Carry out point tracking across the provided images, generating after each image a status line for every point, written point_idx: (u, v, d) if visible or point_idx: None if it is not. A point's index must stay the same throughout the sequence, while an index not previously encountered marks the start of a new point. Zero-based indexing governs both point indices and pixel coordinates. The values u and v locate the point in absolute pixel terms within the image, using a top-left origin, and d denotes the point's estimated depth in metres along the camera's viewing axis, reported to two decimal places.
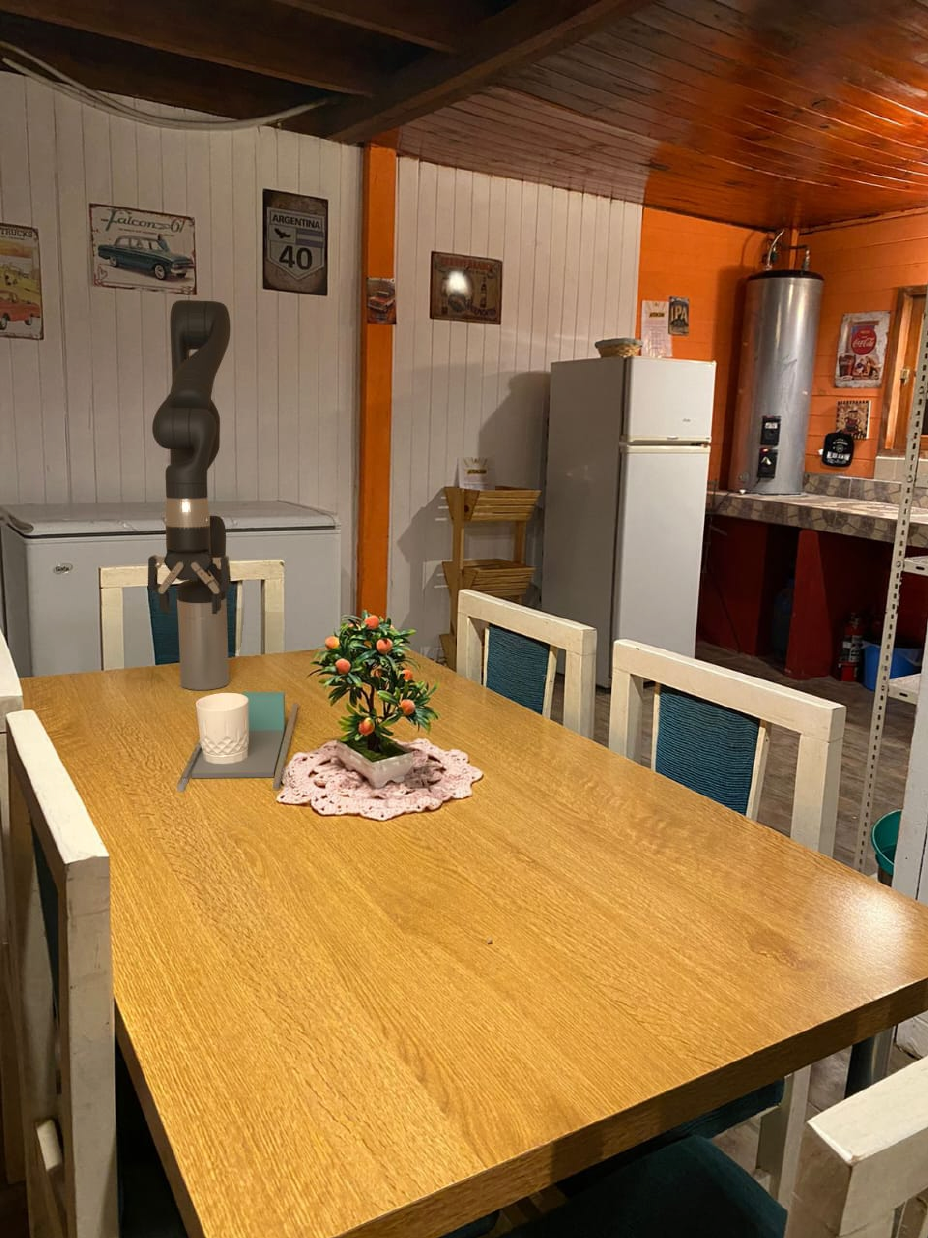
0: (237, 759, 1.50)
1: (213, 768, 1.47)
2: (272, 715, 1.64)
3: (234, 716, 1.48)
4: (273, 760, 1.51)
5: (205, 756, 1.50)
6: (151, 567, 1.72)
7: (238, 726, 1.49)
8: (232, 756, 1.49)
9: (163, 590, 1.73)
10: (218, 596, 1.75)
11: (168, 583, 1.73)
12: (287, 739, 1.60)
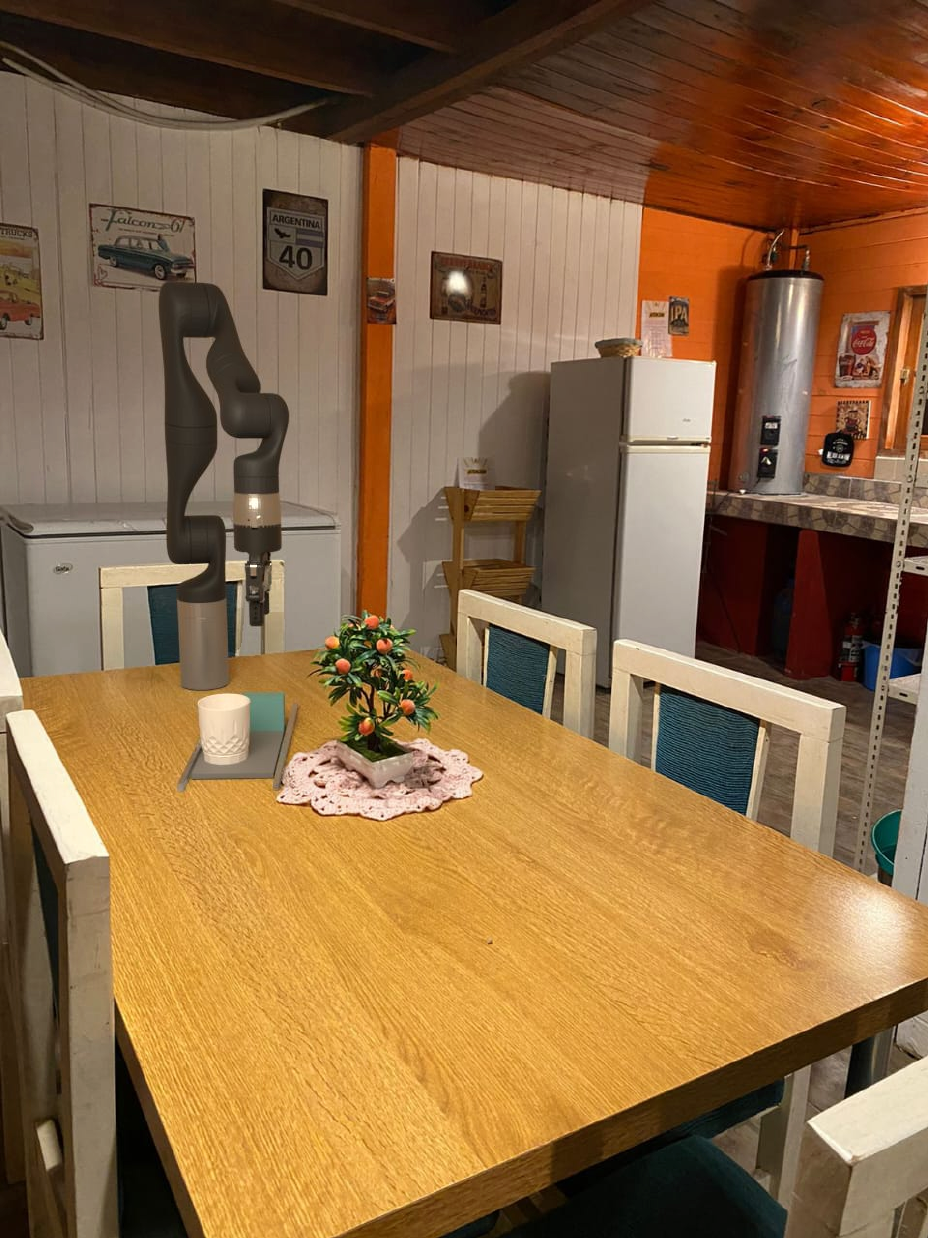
0: (223, 762, 1.49)
1: (213, 769, 1.47)
2: (272, 716, 1.64)
3: (220, 718, 1.47)
4: (273, 761, 1.51)
5: None
6: (261, 575, 1.52)
7: (224, 728, 1.47)
8: (218, 758, 1.49)
9: None
10: None
11: (265, 589, 1.55)
12: (287, 739, 1.60)
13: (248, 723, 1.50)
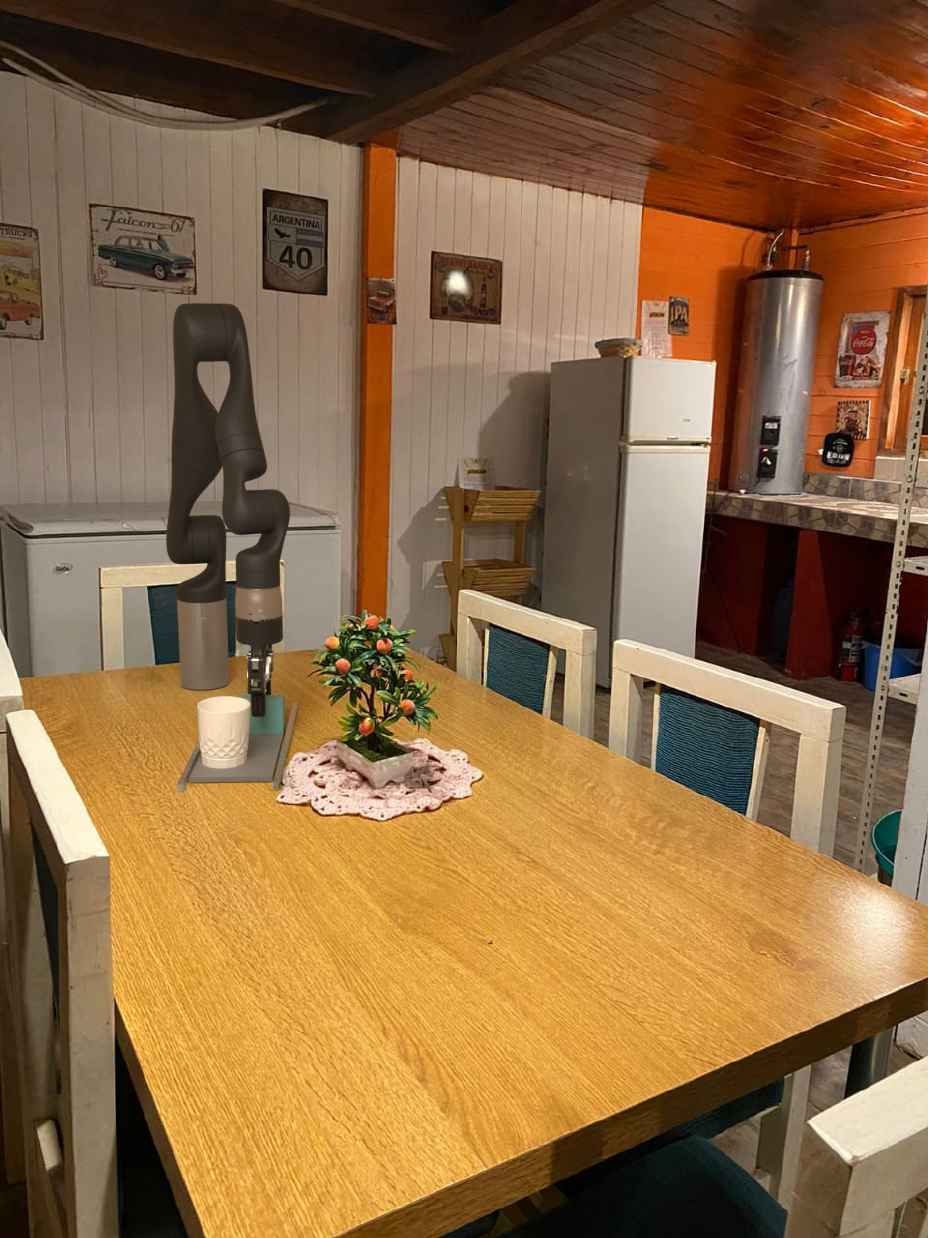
0: (220, 765, 1.47)
1: (211, 772, 1.46)
2: (271, 718, 1.62)
3: (218, 721, 1.45)
4: (272, 764, 1.50)
5: None
6: (263, 668, 1.55)
7: (222, 732, 1.46)
8: (215, 761, 1.47)
9: (265, 690, 1.57)
10: None
11: (267, 681, 1.58)
12: (287, 739, 1.60)
13: (247, 727, 1.49)
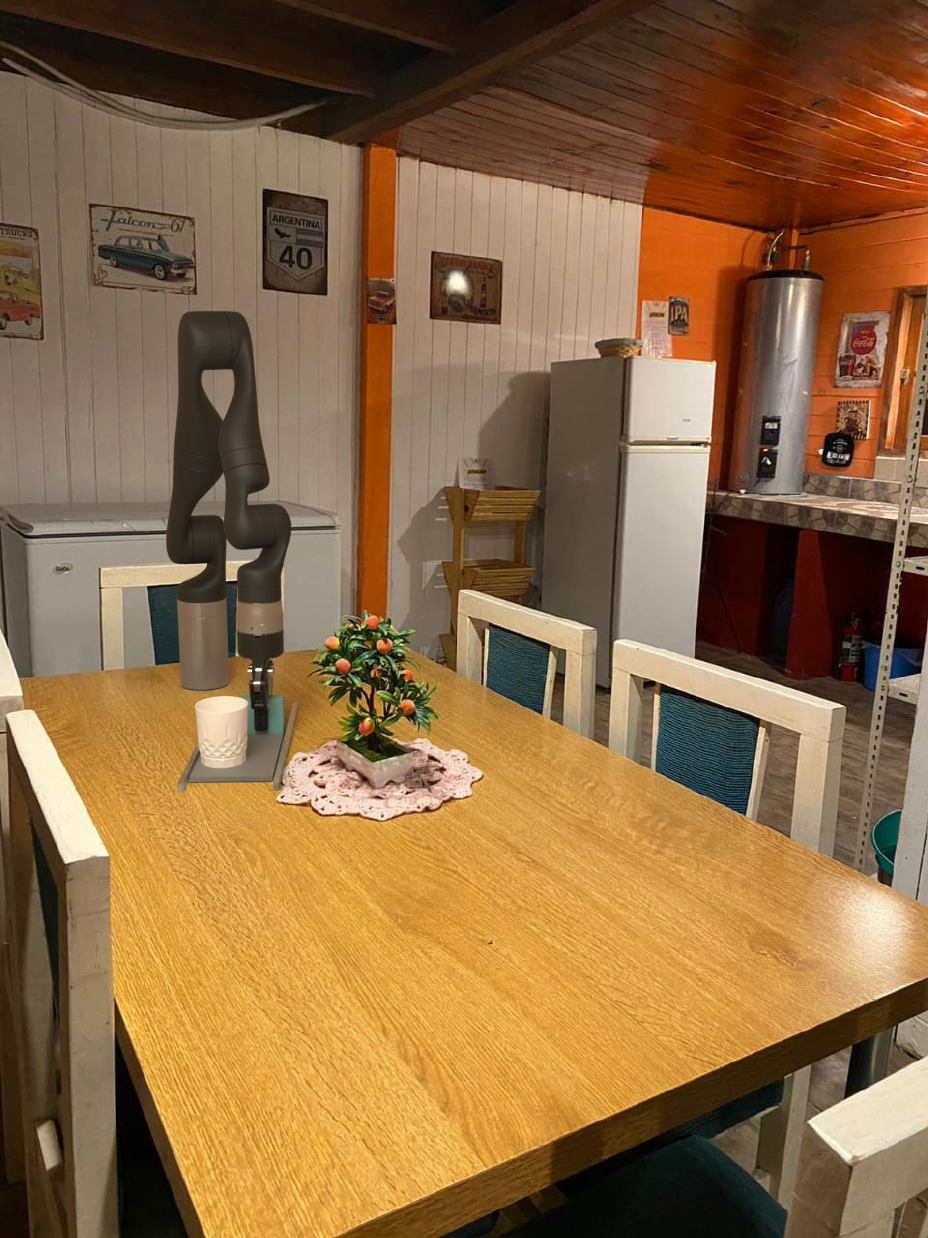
0: (217, 765, 1.48)
1: (211, 772, 1.46)
2: (271, 718, 1.63)
3: (213, 721, 1.45)
4: (272, 764, 1.50)
5: None
6: (265, 689, 1.57)
7: (217, 732, 1.46)
8: (212, 761, 1.47)
9: (268, 705, 1.61)
10: None
11: None
12: (287, 739, 1.60)
13: (244, 727, 1.48)
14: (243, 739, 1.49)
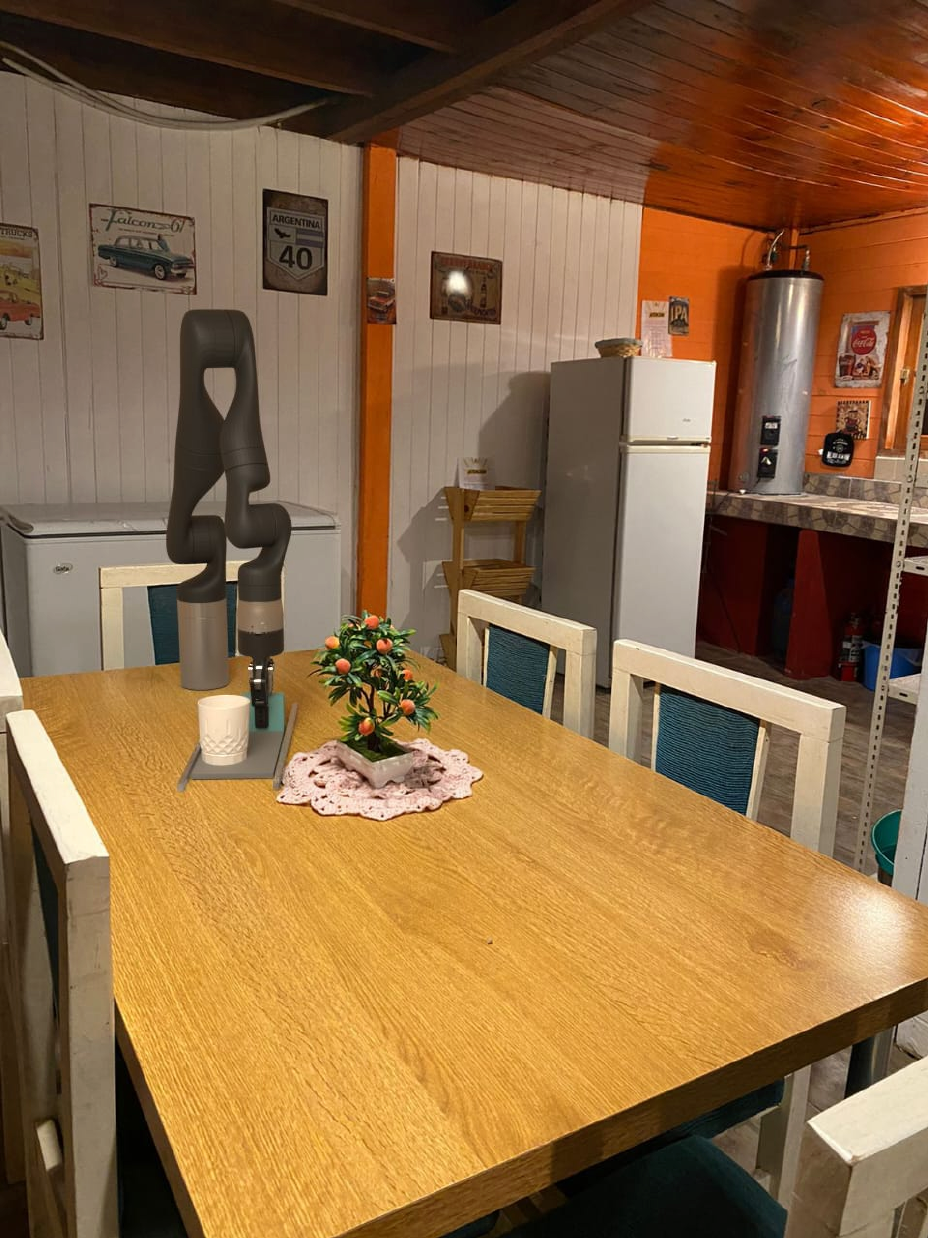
0: (217, 761, 1.49)
1: (213, 769, 1.47)
2: (272, 716, 1.64)
3: (214, 716, 1.47)
4: (273, 761, 1.51)
5: None
6: (265, 687, 1.58)
7: (218, 727, 1.47)
8: (212, 757, 1.49)
9: None
10: None
11: None
12: (287, 739, 1.60)
13: (245, 725, 1.50)
14: (244, 736, 1.50)
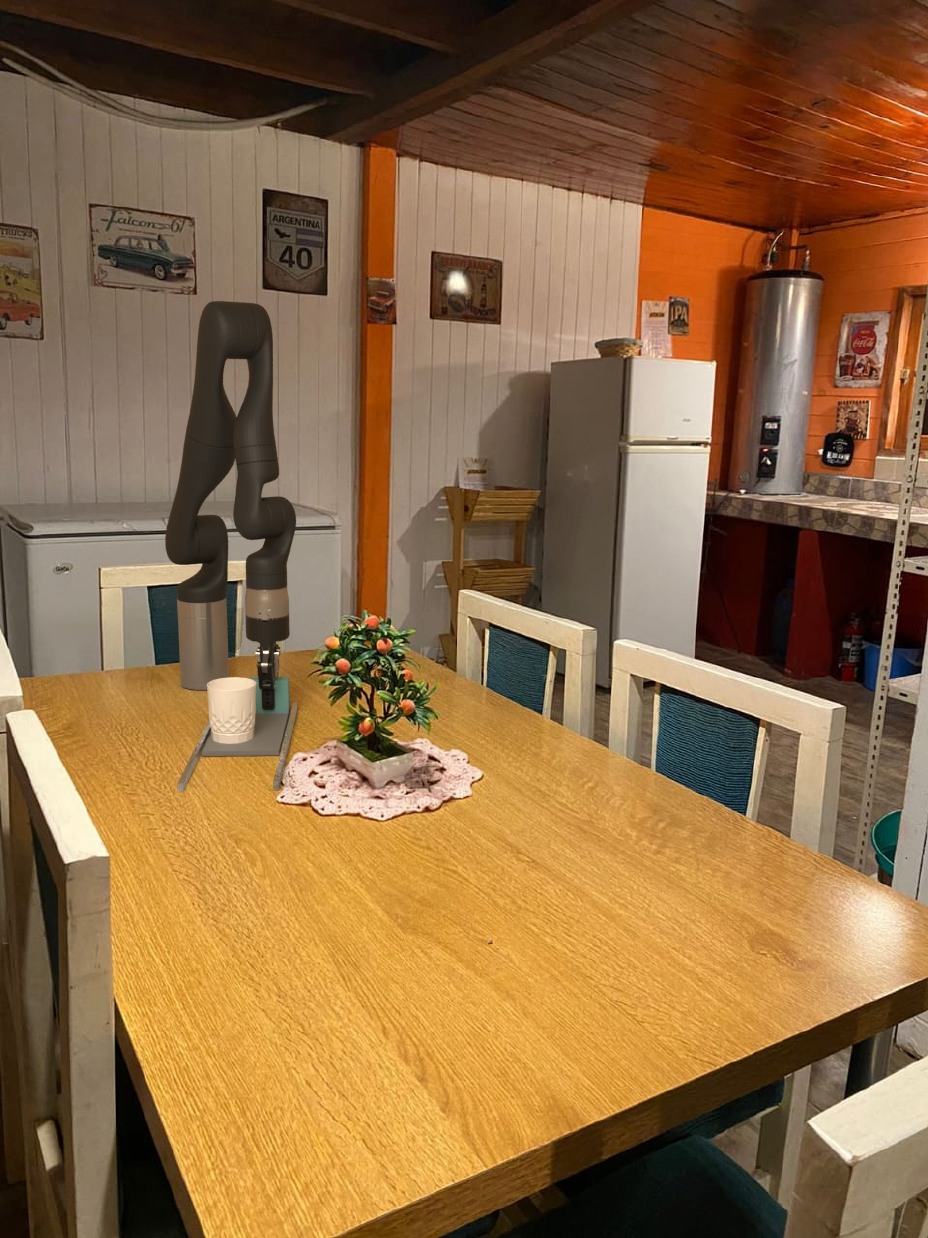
0: (223, 740, 1.58)
1: (222, 747, 1.56)
2: (277, 698, 1.73)
3: (219, 697, 1.56)
4: (278, 740, 1.60)
5: None
6: (272, 671, 1.67)
7: (223, 708, 1.56)
8: (218, 735, 1.58)
9: (274, 685, 1.72)
10: None
11: None
12: (287, 739, 1.60)
13: (250, 706, 1.58)
14: (249, 717, 1.59)
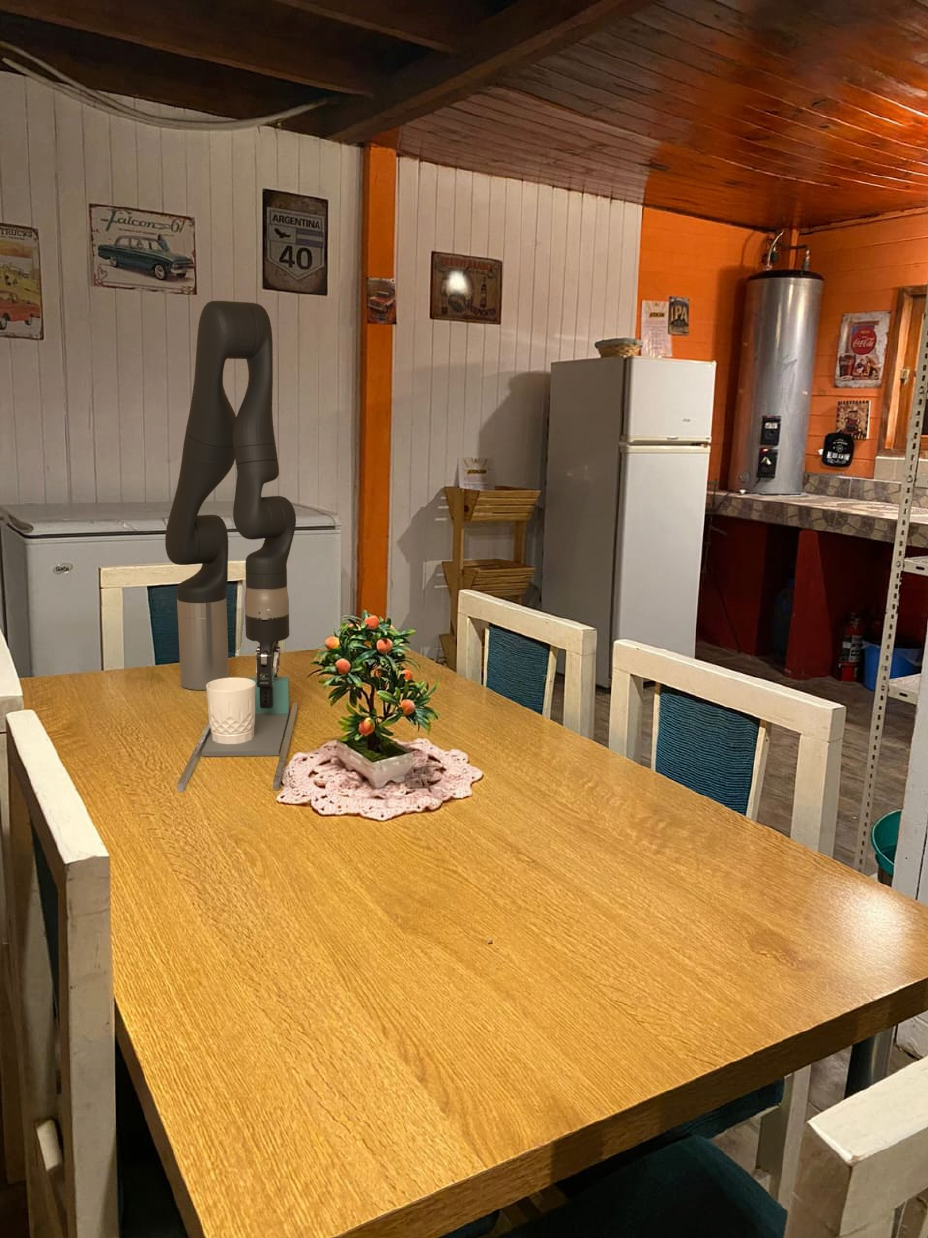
0: (221, 740, 1.58)
1: (222, 747, 1.56)
2: (277, 699, 1.73)
3: (217, 698, 1.56)
4: (278, 740, 1.60)
5: None
6: (271, 663, 1.66)
7: (220, 709, 1.56)
8: (217, 736, 1.58)
9: (273, 683, 1.69)
10: None
11: (274, 675, 1.70)
12: (287, 739, 1.60)
13: (248, 707, 1.58)
14: (247, 718, 1.58)
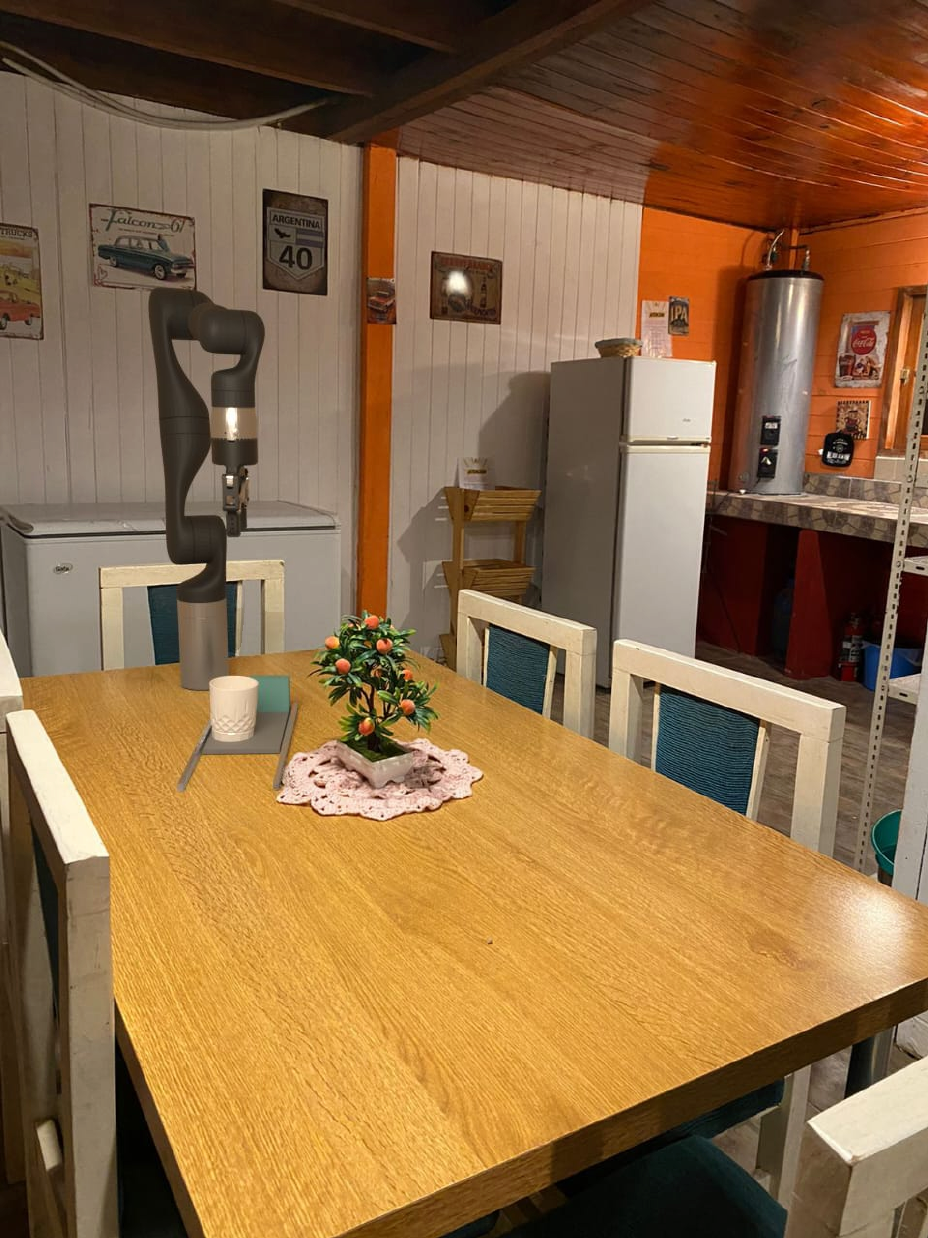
0: (217, 737, 1.59)
1: (223, 745, 1.57)
2: (278, 697, 1.74)
3: (214, 695, 1.57)
4: (279, 738, 1.61)
5: None
6: (238, 486, 1.57)
7: (217, 706, 1.57)
8: (214, 732, 1.60)
9: None
10: None
11: (242, 501, 1.60)
12: (287, 739, 1.60)
13: (244, 708, 1.58)
14: (243, 719, 1.58)
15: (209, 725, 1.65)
